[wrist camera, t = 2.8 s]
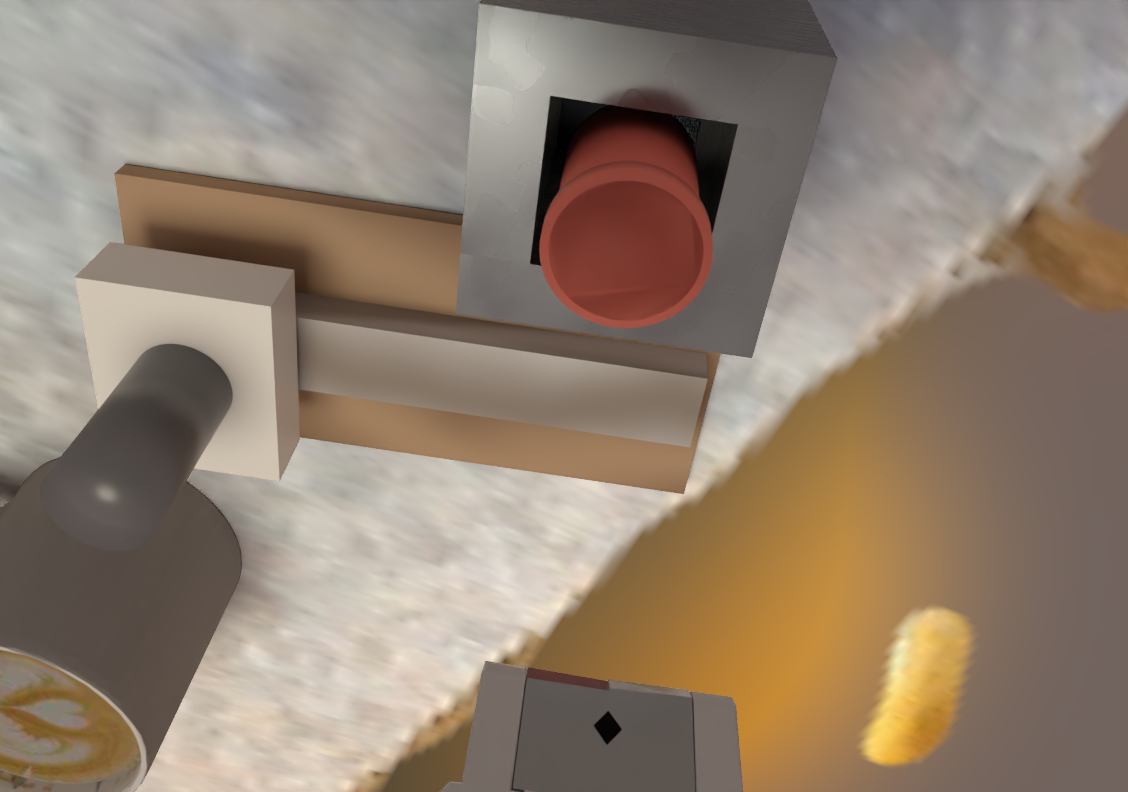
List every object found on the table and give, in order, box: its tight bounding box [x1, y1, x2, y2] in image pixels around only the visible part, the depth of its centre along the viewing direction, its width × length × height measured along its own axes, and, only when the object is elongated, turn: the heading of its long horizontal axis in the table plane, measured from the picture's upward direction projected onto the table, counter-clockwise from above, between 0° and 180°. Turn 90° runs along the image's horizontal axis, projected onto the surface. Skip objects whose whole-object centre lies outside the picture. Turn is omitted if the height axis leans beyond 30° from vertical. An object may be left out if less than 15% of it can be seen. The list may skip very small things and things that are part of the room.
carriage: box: [40, 242, 300, 551], centre depth 31 cm, size 7×6×8 cm
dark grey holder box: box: [456, 0, 837, 358], centre depth 28 cm, size 8×8×8 cm
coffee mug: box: [0, 458, 242, 792], centre depth 39 cm, size 13×10×10 cm
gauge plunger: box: [539, 105, 713, 328], centre depth 24 cm, size 4×4×5 cm
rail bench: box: [115, 164, 720, 494], centre depth 36 cm, size 10×21×2 cm, turn 83°
